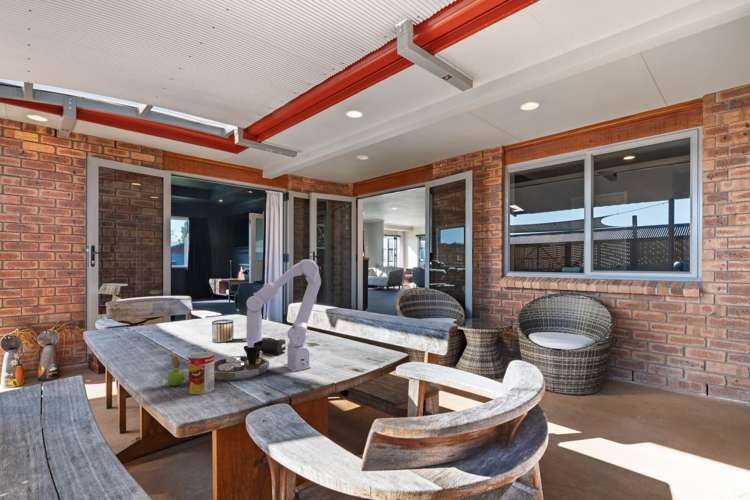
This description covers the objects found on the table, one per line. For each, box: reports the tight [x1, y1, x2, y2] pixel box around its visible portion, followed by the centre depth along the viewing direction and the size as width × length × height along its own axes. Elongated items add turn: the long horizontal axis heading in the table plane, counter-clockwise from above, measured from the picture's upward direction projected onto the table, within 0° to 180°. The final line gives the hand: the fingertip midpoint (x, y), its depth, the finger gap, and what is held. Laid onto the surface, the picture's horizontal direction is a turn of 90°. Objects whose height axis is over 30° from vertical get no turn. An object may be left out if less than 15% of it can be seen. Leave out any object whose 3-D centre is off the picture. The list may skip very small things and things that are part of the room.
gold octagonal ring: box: [246, 359, 261, 370], centre depth 142 cm, size 5×5×3 cm
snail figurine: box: [166, 348, 186, 387], centre depth 127 cm, size 5×6×12 cm
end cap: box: [260, 337, 287, 356], centre depth 168 cm, size 10×7×7 cm
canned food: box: [187, 350, 215, 395], centre depth 122 cm, size 8×8×12 cm
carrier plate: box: [214, 355, 270, 382], centre depth 142 cm, size 22×22×4 cm
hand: (253, 361), depth 142 cm, fingers open, 7 cm apart
